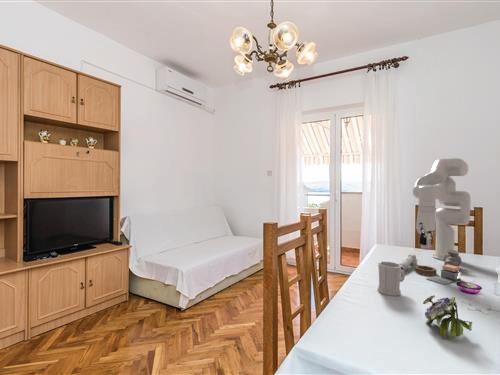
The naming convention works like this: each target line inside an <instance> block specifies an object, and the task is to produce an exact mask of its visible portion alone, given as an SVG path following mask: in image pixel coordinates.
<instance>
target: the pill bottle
mask: <svg viewBox="0 0 500 375" xmlns="http://www.w3.org/2000/svg"><path fill="white" fill-rule="evenodd" d="M426 237H427V245H422V244H420V249H421V250H425V251H431V250H432V244H433V243H432V238H431V233H426Z"/></svg>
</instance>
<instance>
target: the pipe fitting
mask: <svg viewBox="0 0 500 375" xmlns="http://www.w3.org/2000/svg"><path fill="white" fill-rule="evenodd" d="M443 262H444V265H447V264H449V265H453V266H457V267H460V266H461V265H462V257H461V256H460V252H459V251H457V250H455V249H454V250H448V253H447V254H446V255H445V256H444V260H443Z"/></svg>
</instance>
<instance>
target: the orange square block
mask: <svg viewBox="0 0 500 375" xmlns="http://www.w3.org/2000/svg"><path fill="white" fill-rule="evenodd" d="M442 269H445V270H448V271H451V272H455V271H460V266H458V267H457V266H453V265H449V264H447V265H442Z"/></svg>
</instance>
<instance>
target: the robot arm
mask: <svg viewBox="0 0 500 375" xmlns="http://www.w3.org/2000/svg"><path fill="white" fill-rule="evenodd" d="M468 172H469V165H468V163H467V162H466V161H465V160H463V159H462V158H458V157H457V158H456V157H454V158H439V159H436V160H435V161H434V163H433V164H432V167H431V168H430V171H429V173H426V174H424V175H423V176H421V177H419V178H418V179H417V180H416V182H415V184H414V186H413V189H412V196H413V197H414V198H416V199H418V207H417V208H418V209H417V210H418V212H417V216H416V223H415V224H416V225H415V226H416V227H415V228H416V232H417V233H418V236H419V244H420V245H421V244H422V245H427V237H426V233H431V238H432V244H433V243H434V242H433V241H434V238H433V236H434V232H435V252H434V253H433V254H432V258H434V259H437V260H442V261H444V256H445V255H446V254H447V253H448V250H455V234H456V232H455V229H454V228H453V227H452V225H459V226H460V225H461V226H466V225H468V224H469V223H470V221H471V203H472V202H471V195H470V193H469V192H468V191H463V190H456V187H457V186H456V185H457V182H456V181H455V179H453V177H464V176H466V175H467V174H468ZM436 200H438V204H439V205H441V206H445V207H439V208H436V203H437V201H436ZM451 207H459V208H451Z"/></svg>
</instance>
